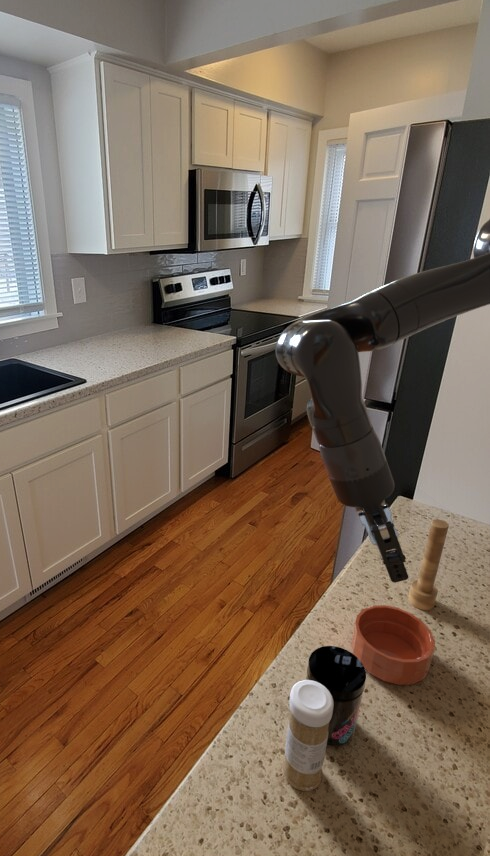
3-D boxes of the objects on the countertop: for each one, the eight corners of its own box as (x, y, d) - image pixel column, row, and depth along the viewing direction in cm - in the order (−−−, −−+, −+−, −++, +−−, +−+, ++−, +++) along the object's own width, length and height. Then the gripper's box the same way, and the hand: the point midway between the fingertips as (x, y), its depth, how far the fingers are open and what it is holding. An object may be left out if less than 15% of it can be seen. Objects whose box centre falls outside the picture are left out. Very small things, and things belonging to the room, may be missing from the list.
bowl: (398, 623, 79) (403, 600, 77) (444, 680, 69) (452, 655, 67) (338, 634, 77) (341, 610, 75) (376, 694, 67) (382, 668, 65)
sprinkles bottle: (308, 749, 61) (319, 673, 55) (328, 787, 57) (342, 709, 51) (275, 759, 60) (283, 683, 54) (293, 798, 56) (303, 720, 50)
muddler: (423, 591, 85) (442, 515, 78) (439, 608, 81) (460, 529, 75) (403, 595, 84) (420, 518, 78) (418, 611, 81) (437, 532, 74)
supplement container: (321, 758, 60) (331, 700, 55) (291, 710, 66) (297, 654, 61) (366, 739, 62) (378, 681, 57) (332, 694, 68) (341, 639, 63)
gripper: (401, 478, 56) (437, 586, 61) (370, 433, 69) (402, 525, 74) (337, 498, 58) (377, 601, 63) (318, 451, 71) (353, 539, 76)
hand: (390, 560), depth 68 cm, fingers open, 8 cm apart
